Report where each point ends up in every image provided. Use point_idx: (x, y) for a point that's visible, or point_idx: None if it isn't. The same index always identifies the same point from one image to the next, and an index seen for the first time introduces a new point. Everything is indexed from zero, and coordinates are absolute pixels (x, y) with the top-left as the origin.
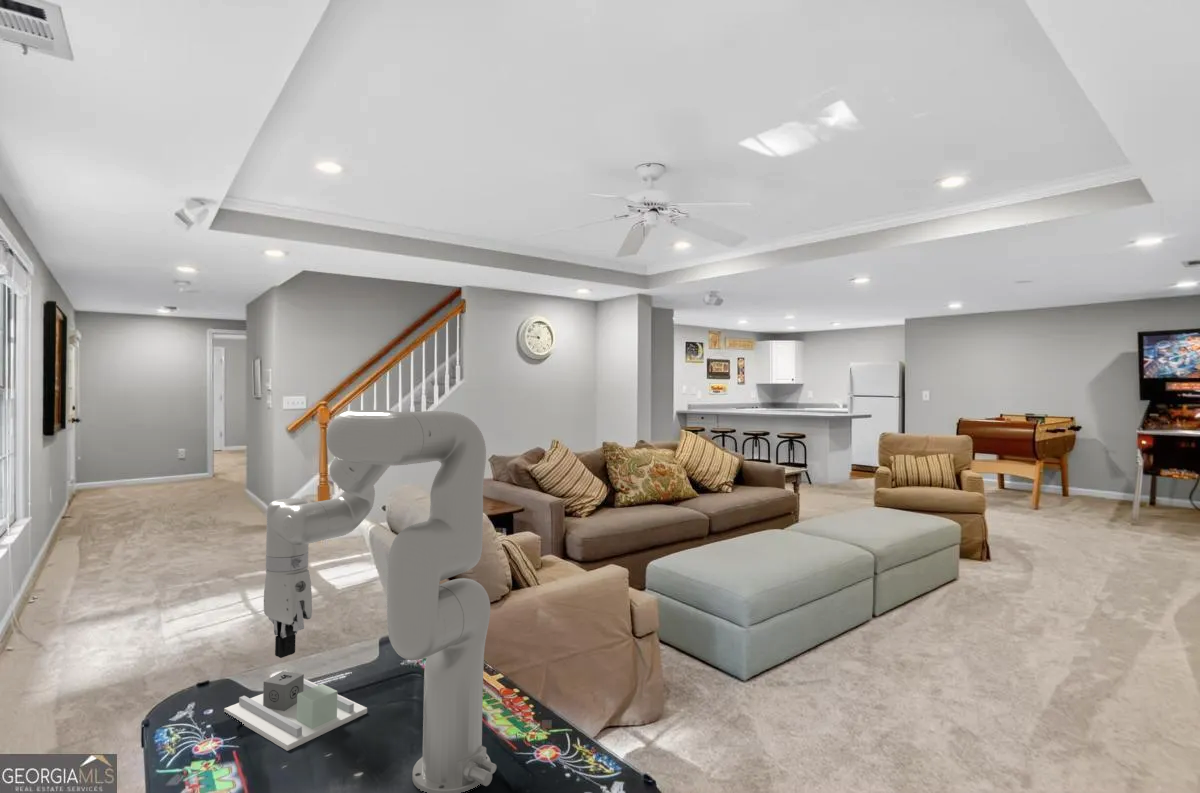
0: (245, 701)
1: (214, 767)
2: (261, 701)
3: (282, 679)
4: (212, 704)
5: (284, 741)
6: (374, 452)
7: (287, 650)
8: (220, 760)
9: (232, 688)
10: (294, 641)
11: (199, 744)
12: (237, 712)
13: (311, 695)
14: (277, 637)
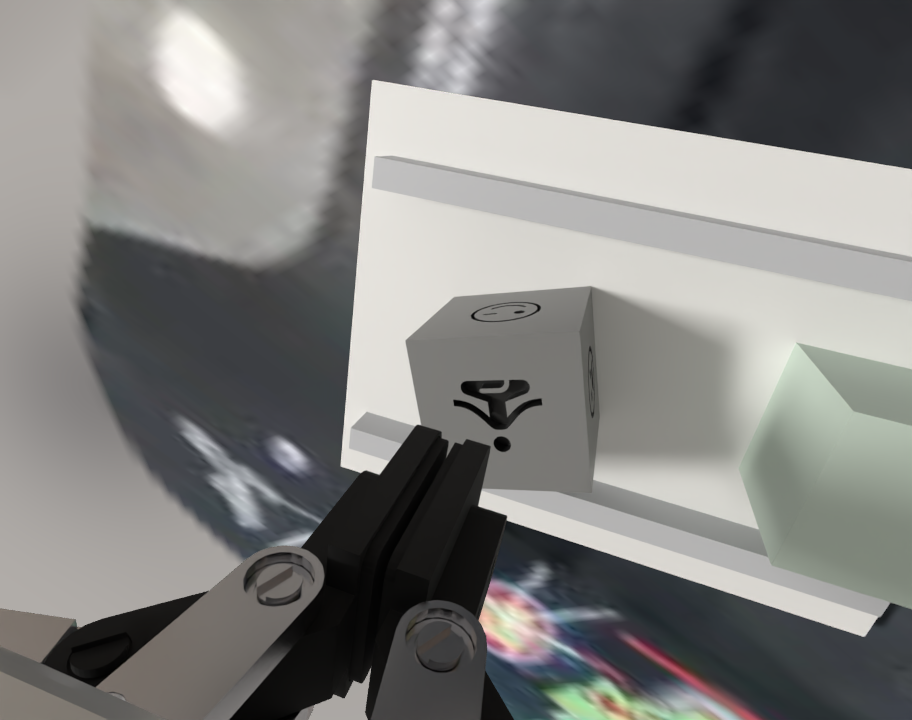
0: None
1: (649, 714)
2: None
3: (509, 436)
4: (248, 414)
5: (823, 615)
6: None
7: (493, 569)
8: (631, 684)
9: (177, 288)
10: (459, 519)
11: None
12: None
13: (899, 565)
14: (348, 684)
